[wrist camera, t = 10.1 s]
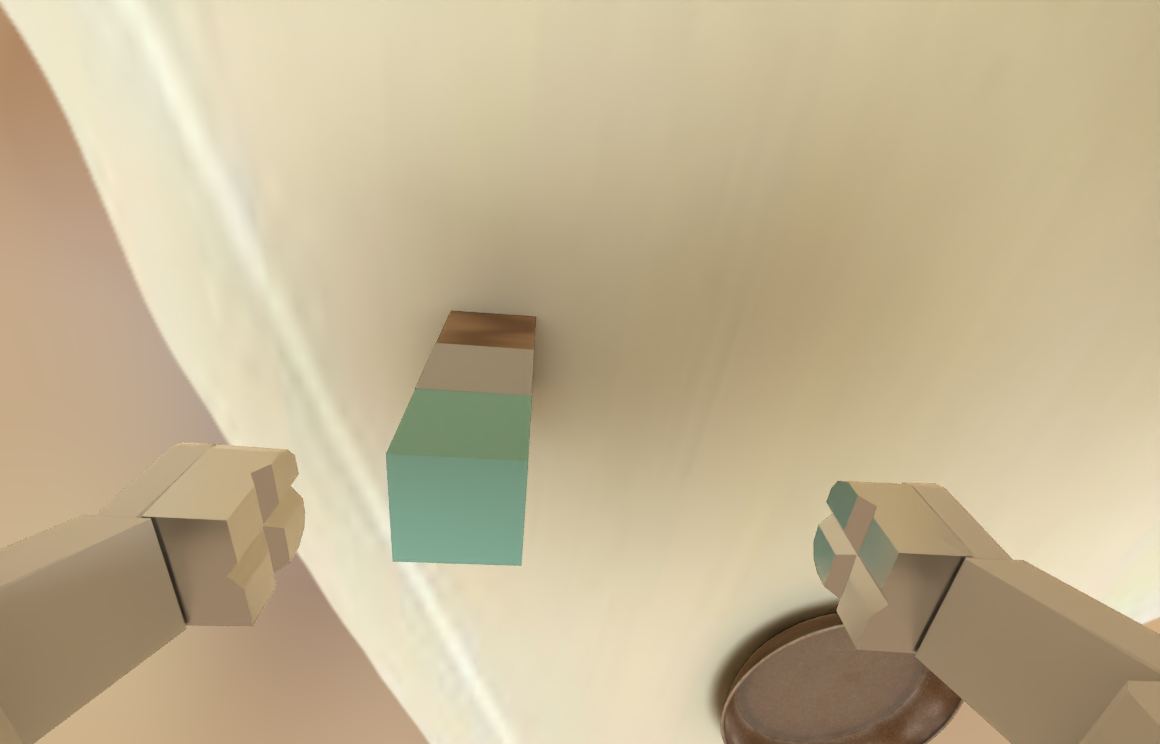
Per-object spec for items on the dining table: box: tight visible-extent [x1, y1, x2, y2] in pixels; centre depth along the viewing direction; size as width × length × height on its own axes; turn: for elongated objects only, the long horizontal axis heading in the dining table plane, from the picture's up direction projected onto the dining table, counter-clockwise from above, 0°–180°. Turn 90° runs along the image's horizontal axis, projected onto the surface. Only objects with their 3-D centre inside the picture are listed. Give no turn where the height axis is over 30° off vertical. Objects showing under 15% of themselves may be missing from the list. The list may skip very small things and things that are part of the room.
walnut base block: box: [437, 311, 536, 350], centre depth 33 cm, size 5×5×5 cm
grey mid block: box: [415, 343, 534, 395], centre depth 28 cm, size 5×5×5 cm
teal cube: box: [386, 389, 532, 566], centre depth 24 cm, size 5×5×5 cm
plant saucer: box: [721, 613, 964, 744], centre depth 49 cm, size 21×21×3 cm
